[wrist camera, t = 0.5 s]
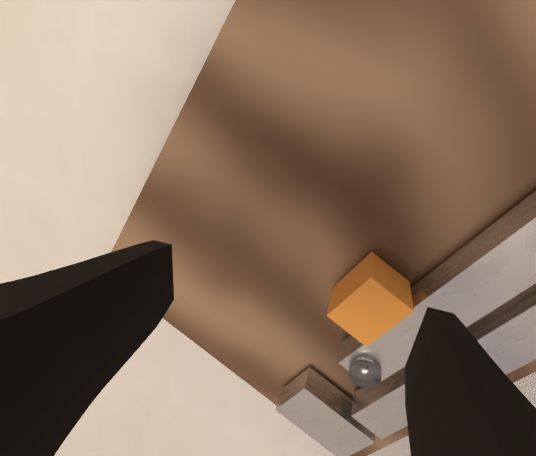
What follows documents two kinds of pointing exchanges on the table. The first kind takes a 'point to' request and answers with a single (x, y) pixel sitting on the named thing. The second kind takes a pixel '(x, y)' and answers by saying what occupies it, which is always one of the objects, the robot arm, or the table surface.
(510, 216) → the bar
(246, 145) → the walnut board
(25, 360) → the robot arm
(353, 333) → the orange block
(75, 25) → the table surface
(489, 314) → the tongs frame
